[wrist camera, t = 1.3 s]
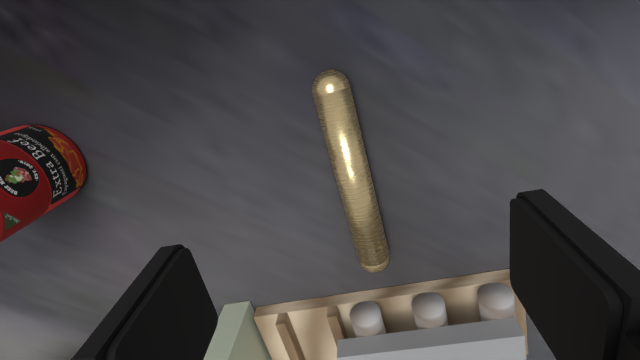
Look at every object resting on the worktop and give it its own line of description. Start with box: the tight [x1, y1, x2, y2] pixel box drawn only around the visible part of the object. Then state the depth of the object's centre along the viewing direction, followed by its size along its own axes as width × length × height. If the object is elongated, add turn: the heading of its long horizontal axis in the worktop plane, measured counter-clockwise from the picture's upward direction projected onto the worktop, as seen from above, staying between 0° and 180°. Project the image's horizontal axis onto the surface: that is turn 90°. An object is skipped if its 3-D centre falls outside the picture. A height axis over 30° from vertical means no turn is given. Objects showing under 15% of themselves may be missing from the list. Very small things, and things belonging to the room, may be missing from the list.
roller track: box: [254, 269, 528, 360], centre depth 37 cm, size 27×10×4 cm, turn 105°
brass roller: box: [312, 70, 390, 272], centre depth 31 cm, size 3×19×3 cm, turn 15°
